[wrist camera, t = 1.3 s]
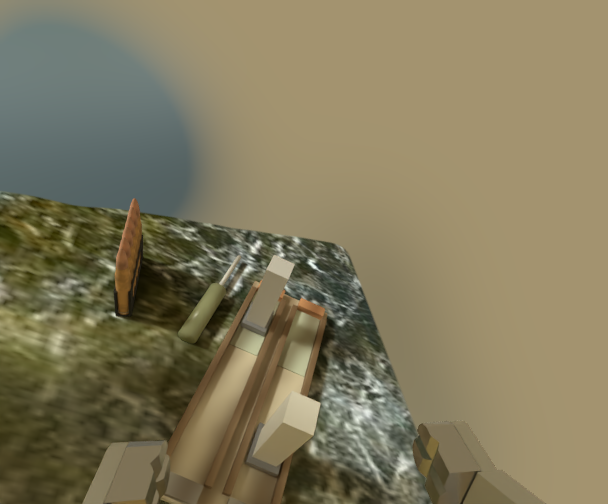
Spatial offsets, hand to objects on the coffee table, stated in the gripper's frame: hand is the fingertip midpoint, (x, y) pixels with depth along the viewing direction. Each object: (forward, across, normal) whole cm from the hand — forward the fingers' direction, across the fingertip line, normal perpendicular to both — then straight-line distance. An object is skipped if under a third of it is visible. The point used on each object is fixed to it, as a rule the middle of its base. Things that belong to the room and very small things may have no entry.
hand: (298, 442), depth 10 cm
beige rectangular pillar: (+16, 0, +25) cm, 30 cm away
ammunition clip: (+35, +20, +15) cm, 43 cm away
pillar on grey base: (+32, +2, +19) cm, 37 cm away
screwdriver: (+35, +9, +18) cm, 40 cm away
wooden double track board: (+24, +2, +23) cm, 34 cm away
